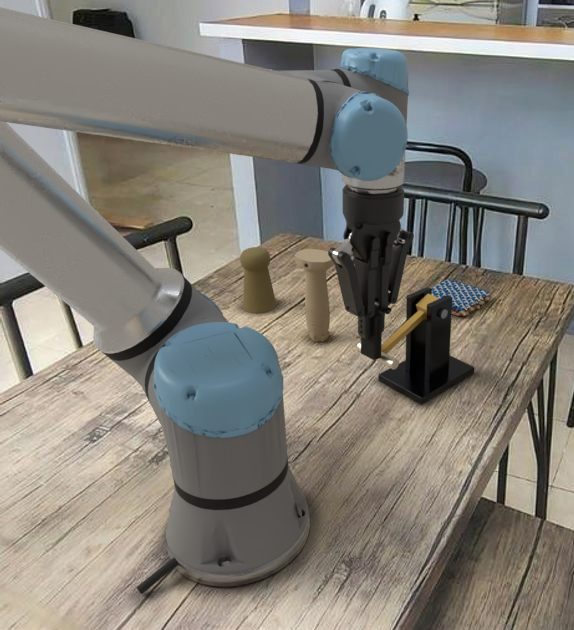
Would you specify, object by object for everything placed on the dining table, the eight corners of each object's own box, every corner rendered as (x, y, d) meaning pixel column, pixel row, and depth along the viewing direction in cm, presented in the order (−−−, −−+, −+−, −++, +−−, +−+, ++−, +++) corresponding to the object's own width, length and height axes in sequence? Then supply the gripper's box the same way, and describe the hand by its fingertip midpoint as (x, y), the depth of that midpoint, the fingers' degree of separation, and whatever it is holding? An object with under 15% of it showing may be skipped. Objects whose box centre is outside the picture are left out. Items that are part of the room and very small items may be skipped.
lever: (394, 374, 92) (389, 362, 91) (359, 355, 96) (354, 343, 95) (454, 315, 98) (451, 303, 97) (419, 300, 102) (416, 288, 101)
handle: (327, 349, 111) (323, 264, 104) (294, 340, 114) (288, 256, 107) (343, 336, 115) (340, 254, 108) (311, 327, 118) (306, 246, 111)
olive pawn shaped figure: (283, 303, 125) (279, 248, 120) (260, 316, 121) (254, 258, 116) (259, 295, 128) (254, 241, 123) (235, 307, 124) (229, 251, 119)
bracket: (421, 405, 98) (423, 320, 91) (378, 380, 103) (377, 299, 97) (474, 373, 106) (479, 293, 99) (431, 352, 111) (434, 275, 105)
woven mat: (493, 299, 129) (494, 290, 128) (463, 320, 121) (464, 310, 120) (447, 285, 134) (448, 276, 133) (416, 304, 127) (416, 294, 126)
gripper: (354, 202, 76) (354, 382, 86) (431, 183, 85) (423, 349, 95) (312, 187, 80) (316, 361, 91) (389, 171, 89) (385, 331, 99)
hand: (371, 355), depth 93 cm, fingers closed
